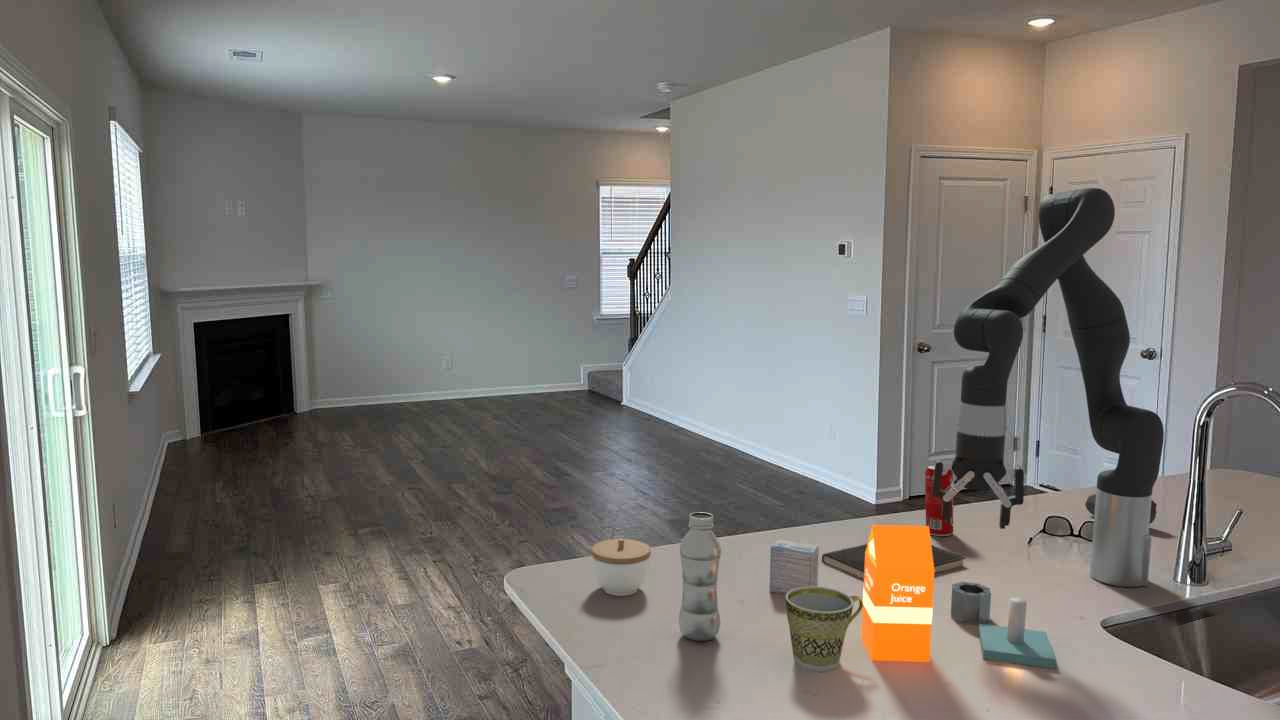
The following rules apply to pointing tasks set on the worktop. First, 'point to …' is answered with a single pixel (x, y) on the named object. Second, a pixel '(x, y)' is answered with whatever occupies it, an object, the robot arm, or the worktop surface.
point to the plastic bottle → (700, 579)
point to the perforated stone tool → (1092, 499)
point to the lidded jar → (620, 565)
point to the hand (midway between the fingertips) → (974, 524)
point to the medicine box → (793, 566)
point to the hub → (970, 603)
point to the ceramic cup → (819, 625)
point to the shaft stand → (1016, 640)
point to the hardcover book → (855, 559)
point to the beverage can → (937, 504)
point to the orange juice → (898, 593)
